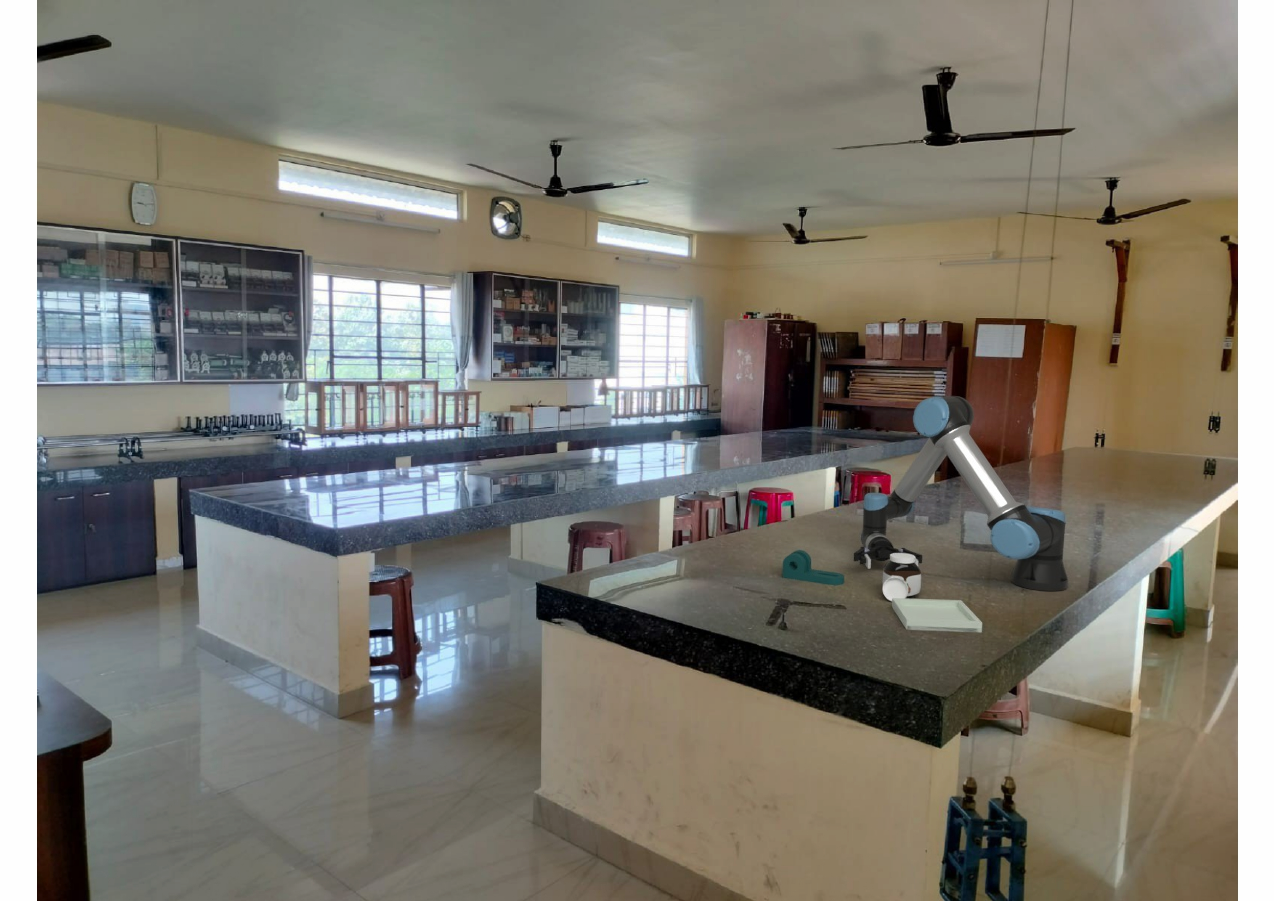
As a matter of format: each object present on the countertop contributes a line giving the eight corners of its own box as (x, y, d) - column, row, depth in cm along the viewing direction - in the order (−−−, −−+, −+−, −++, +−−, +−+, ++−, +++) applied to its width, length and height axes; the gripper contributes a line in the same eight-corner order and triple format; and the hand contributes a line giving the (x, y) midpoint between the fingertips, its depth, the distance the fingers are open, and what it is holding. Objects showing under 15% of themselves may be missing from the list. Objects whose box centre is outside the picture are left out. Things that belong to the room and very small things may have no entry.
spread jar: (913, 591, 230) (915, 552, 228) (928, 603, 219) (930, 562, 217) (872, 591, 229) (873, 552, 228) (885, 604, 218) (887, 562, 217)
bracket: (782, 578, 244) (782, 553, 243) (789, 573, 250) (790, 548, 249) (840, 586, 235) (841, 561, 234) (846, 581, 241) (847, 556, 240)
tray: (960, 609, 213) (961, 600, 213) (981, 632, 196) (982, 622, 195) (891, 606, 216) (892, 597, 215) (906, 629, 198) (906, 619, 197)
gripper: (919, 559, 254) (936, 578, 233) (839, 557, 257) (849, 575, 236) (920, 536, 253) (937, 553, 232) (840, 534, 256) (850, 551, 235)
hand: (893, 564), depth 234 cm, fingers open, 13 cm apart
